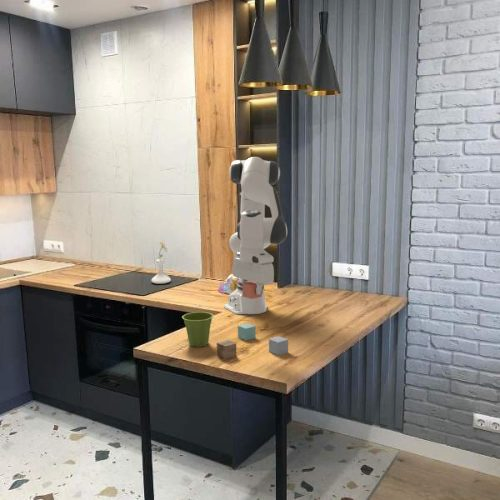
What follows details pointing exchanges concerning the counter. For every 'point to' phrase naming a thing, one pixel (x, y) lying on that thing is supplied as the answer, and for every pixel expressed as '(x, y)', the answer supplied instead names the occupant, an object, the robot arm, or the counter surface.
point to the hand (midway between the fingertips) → (252, 292)
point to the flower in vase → (161, 270)
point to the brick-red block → (250, 290)
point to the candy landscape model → (229, 285)
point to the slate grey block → (278, 345)
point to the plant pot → (198, 327)
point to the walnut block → (226, 349)
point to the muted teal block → (246, 331)
